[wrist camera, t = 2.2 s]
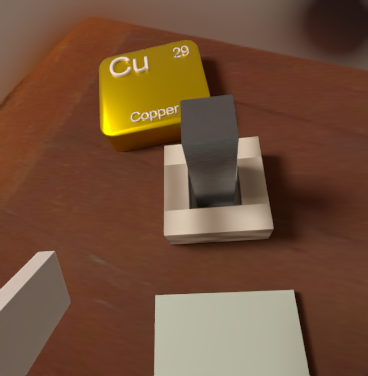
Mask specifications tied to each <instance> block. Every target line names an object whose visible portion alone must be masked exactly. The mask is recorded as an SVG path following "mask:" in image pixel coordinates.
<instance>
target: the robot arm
mask: <svg viewBox="0 0 368 376" xmlns="http://www.w3.org/2000/svg"><path fill="white" fill-rule="evenodd" d="M70 303H71V301H70V297H69V294H68V291H67V288H66V285H65V281H64V278H63V275H62V272H61V269H60V266H59V262H58V259H57V256H56V253H55V251H48V252H38V253H37V254H36V255H35V256H34V257H33V258H32V259H31V260H30V261H29V262H28V263H27V264H26V265H25V266H24V267H23V268H22V269H21V270H20V271H19V272H18V273H17V274H16V275H15V276H14V277H13V278H12V279H11V280H9V281H8V282H7V283H6V284H5V285H4V286H3V287H2V288H1V289H0V376H26V374H27V373H28V371H29V369H30V368H31V366H32V365H33V363H34V361H35V360H36V358H37V356H38V355H39V353H40V352H41V350H42V348H43V347H44V345H45V344H46V342H47V340H48V339H49V337H50V335H51V334H52V332H53V331H54V329H55V327H56V326H57V324H58V323H59V321H60V319H61V318H62V316H63V314H64V313H65V311H66V310H67V308H68V306H69V305H70Z"/></svg>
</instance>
